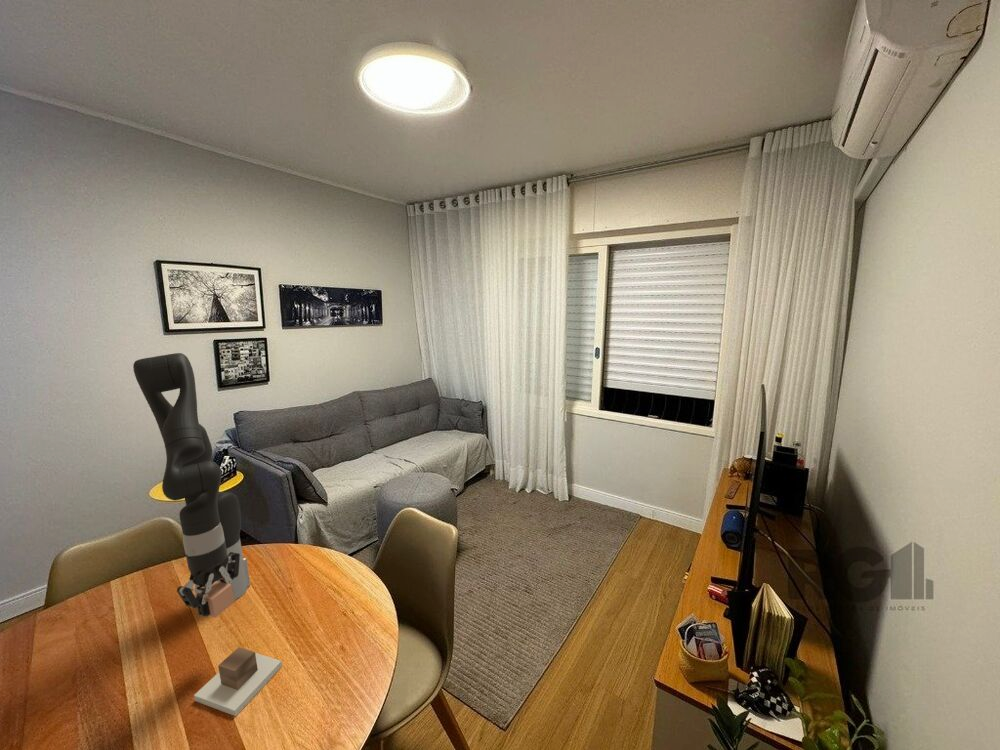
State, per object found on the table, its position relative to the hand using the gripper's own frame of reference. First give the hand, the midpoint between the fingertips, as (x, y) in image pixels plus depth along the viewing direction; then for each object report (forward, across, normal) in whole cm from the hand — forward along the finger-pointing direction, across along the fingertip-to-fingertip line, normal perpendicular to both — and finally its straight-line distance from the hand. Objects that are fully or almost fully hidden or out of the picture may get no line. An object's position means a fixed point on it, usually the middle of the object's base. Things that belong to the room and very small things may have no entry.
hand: (216, 605), depth 93 cm
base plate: (+14, +5, +11) cm, 18 cm away
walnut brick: (+12, +5, +10) cm, 17 cm away
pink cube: (+1, 0, 0) cm, 1 cm away
